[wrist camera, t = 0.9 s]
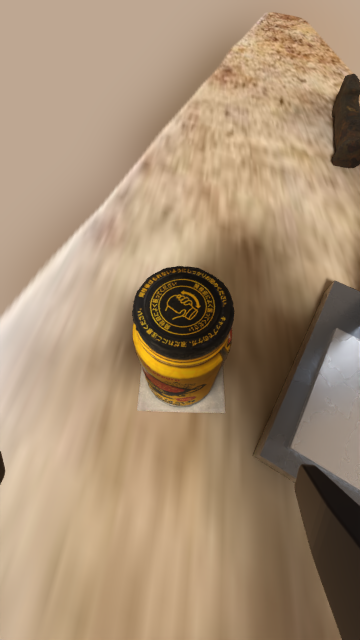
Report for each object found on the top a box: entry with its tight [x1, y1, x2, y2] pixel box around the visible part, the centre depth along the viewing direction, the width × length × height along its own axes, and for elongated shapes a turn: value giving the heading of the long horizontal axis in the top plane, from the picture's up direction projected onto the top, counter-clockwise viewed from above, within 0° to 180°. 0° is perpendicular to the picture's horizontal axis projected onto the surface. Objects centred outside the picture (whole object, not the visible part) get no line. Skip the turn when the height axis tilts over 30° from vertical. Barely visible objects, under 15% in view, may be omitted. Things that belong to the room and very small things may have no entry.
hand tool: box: [332, 74, 360, 168], centre depth 41 cm, size 19×4×5 cm, turn 165°
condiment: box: [132, 266, 234, 413], centre depth 19 cm, size 7×8×12 cm
